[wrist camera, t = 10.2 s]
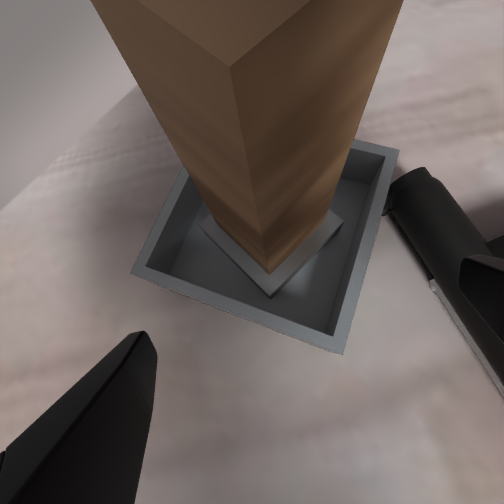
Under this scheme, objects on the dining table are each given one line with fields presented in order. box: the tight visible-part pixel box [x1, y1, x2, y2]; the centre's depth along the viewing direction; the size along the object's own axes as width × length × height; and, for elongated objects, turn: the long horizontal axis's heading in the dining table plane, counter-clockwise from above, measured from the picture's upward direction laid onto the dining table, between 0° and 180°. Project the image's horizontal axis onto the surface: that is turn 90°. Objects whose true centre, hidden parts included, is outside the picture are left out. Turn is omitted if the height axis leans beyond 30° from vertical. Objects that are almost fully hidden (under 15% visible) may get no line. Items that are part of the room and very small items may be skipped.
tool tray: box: [130, 139, 400, 355], centre depth 17 cm, size 11×11×4 cm
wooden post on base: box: [91, 0, 403, 300], centre depth 11 cm, size 6×6×14 cm
